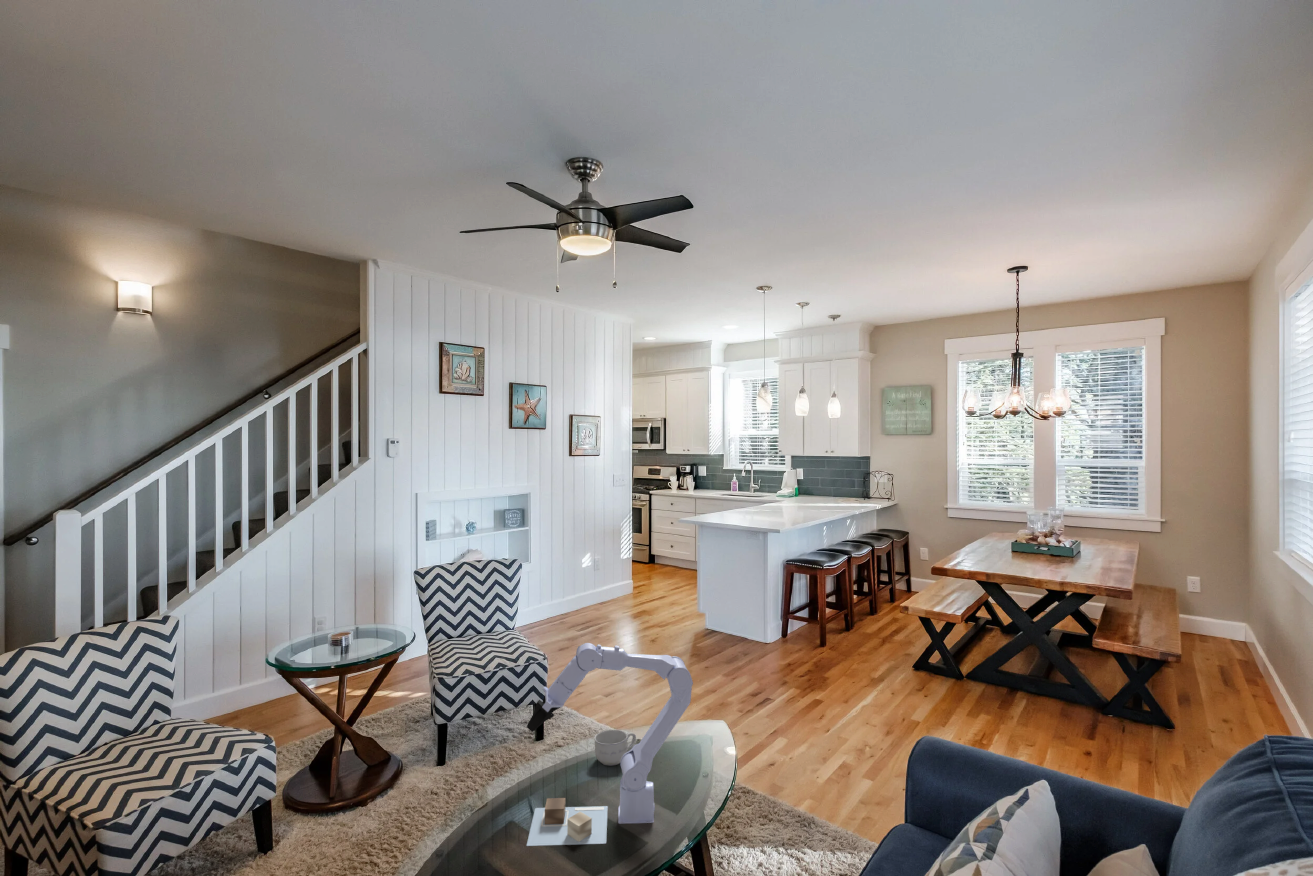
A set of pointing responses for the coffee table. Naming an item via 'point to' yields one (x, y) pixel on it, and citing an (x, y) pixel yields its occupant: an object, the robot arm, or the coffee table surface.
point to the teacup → (612, 746)
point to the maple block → (579, 826)
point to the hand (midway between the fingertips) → (533, 725)
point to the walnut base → (555, 811)
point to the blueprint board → (558, 832)
